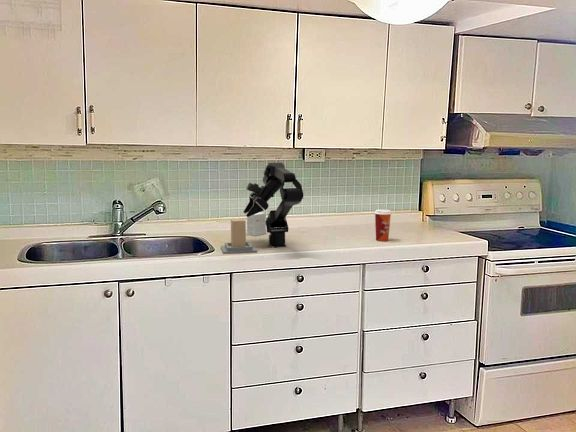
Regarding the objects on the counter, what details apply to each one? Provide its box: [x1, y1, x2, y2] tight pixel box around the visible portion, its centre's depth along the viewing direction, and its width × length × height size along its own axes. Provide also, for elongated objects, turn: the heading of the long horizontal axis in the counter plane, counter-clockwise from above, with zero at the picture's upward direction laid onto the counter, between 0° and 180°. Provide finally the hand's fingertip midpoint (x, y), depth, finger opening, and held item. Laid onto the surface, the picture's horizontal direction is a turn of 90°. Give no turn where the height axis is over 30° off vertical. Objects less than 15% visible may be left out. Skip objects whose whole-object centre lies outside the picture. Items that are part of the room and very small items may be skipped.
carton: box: [230, 218, 247, 247], centre depth 238 cm, size 6×6×12 cm
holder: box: [220, 241, 258, 255], centre depth 239 cm, size 14×12×2 cm
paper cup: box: [374, 208, 392, 242], centre depth 261 cm, size 8×8×14 cm
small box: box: [246, 211, 267, 237], centre depth 274 cm, size 8×6×10 cm
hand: (245, 214), depth 248 cm, fingers open, 9 cm apart
